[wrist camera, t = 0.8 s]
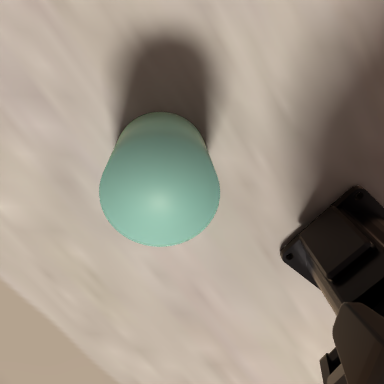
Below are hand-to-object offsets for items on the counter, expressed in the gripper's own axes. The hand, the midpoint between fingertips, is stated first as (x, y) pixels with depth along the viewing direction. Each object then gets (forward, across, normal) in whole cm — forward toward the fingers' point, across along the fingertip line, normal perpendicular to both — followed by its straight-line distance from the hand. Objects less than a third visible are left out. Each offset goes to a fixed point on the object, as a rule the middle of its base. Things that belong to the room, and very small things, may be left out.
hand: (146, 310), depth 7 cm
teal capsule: (+12, 0, 0) cm, 12 cm away
